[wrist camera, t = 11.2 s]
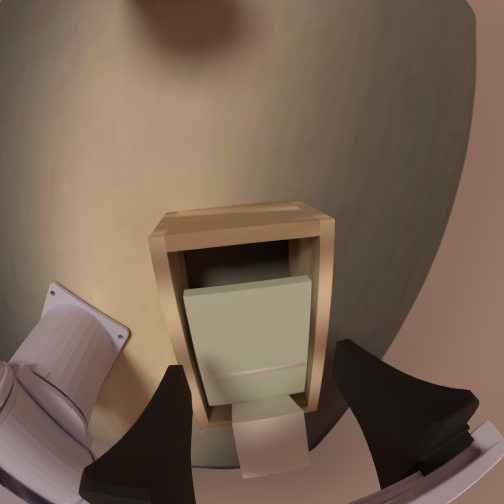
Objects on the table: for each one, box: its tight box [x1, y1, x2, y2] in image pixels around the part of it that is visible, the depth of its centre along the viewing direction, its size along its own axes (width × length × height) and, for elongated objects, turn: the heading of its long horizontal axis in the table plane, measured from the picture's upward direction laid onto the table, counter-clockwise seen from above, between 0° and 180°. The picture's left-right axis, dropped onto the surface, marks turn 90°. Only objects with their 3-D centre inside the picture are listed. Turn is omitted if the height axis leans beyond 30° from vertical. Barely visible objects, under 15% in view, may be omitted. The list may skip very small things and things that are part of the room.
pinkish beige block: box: [232, 395, 310, 479], centre depth 15 cm, size 4×4×6 cm
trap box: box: [148, 200, 335, 429], centre depth 19 cm, size 15×9×6 cm, turn 4°
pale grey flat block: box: [183, 275, 312, 406], centre depth 17 cm, size 9×7×4 cm
